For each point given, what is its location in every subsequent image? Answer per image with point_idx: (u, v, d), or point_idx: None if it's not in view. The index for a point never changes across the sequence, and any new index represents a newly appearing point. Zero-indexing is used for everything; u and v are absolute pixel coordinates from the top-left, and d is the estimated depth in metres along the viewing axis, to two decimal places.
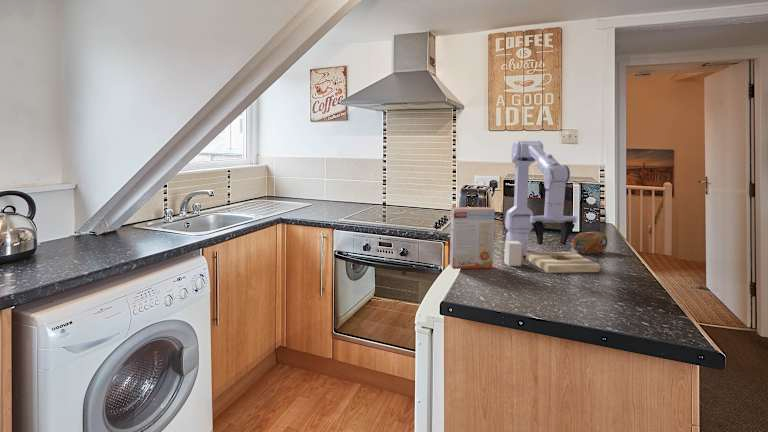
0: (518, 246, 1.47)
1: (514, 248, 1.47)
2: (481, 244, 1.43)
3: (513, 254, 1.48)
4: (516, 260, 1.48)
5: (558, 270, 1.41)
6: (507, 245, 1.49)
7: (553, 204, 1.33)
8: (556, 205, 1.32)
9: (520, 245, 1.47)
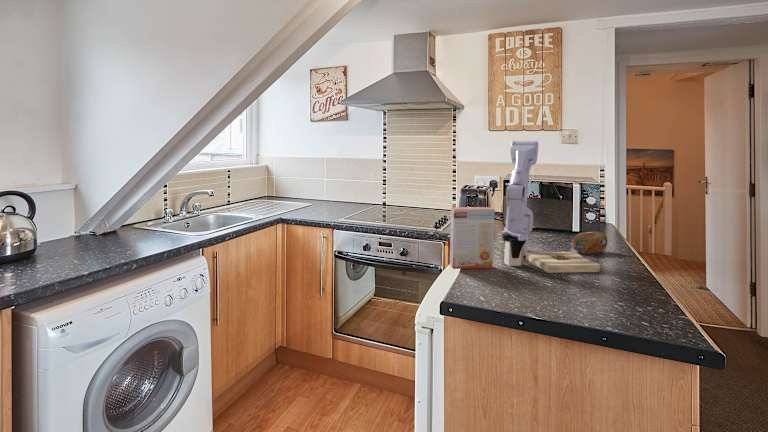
0: None
1: None
2: (481, 244, 1.43)
3: None
4: (516, 260, 1.48)
5: (558, 270, 1.41)
6: (507, 245, 1.49)
7: None
8: (506, 219, 1.48)
9: None
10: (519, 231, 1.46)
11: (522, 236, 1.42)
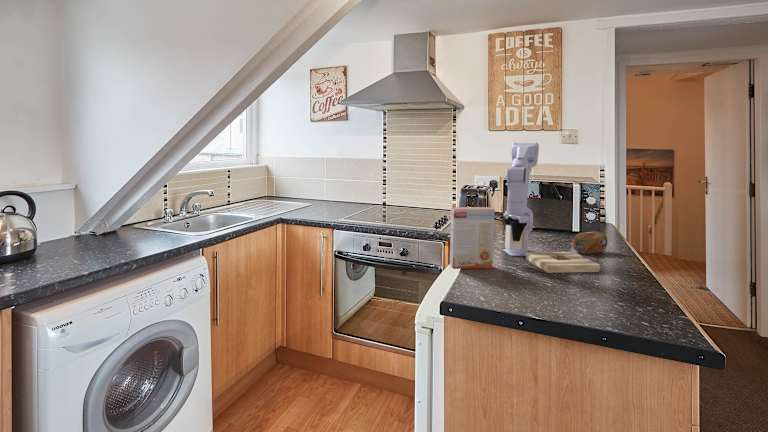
0: None
1: None
2: (481, 244, 1.43)
3: None
4: (517, 243, 1.47)
5: (558, 270, 1.41)
6: (507, 228, 1.49)
7: (507, 201, 1.48)
8: (507, 202, 1.47)
9: None
10: (520, 214, 1.45)
11: (523, 218, 1.41)
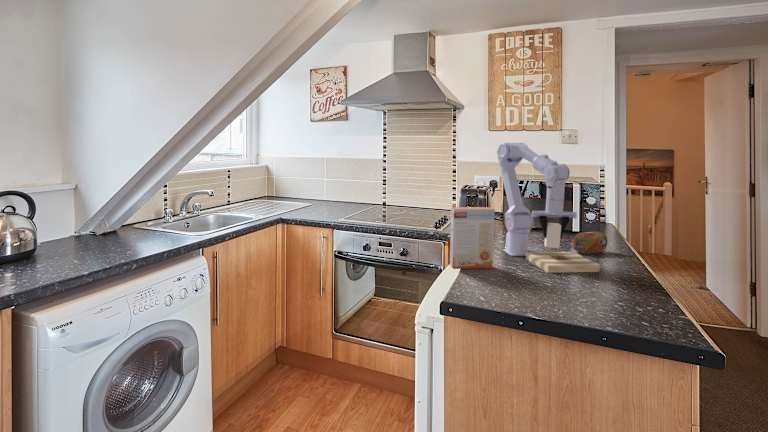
0: None
1: None
2: (481, 244, 1.43)
3: None
4: None
5: (558, 270, 1.41)
6: (553, 228, 1.45)
7: (552, 200, 1.44)
8: (554, 201, 1.44)
9: None
10: None
11: None
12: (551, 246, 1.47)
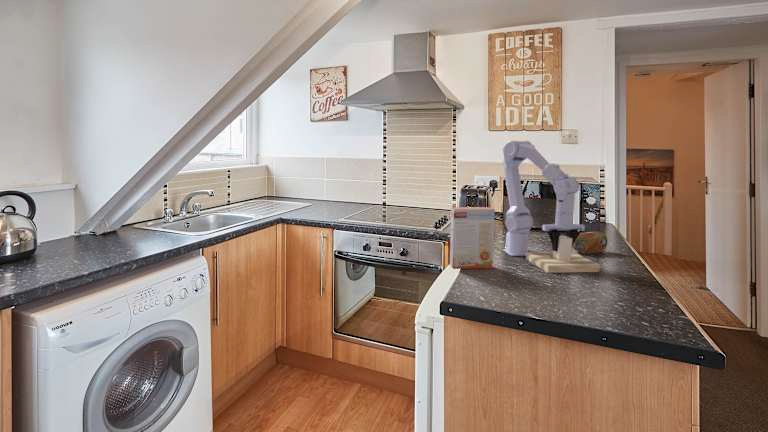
0: None
1: None
2: (481, 244, 1.43)
3: None
4: None
5: (558, 270, 1.41)
6: (565, 241, 1.46)
7: (564, 214, 1.45)
8: (567, 215, 1.44)
9: None
10: None
11: None
12: (563, 259, 1.47)
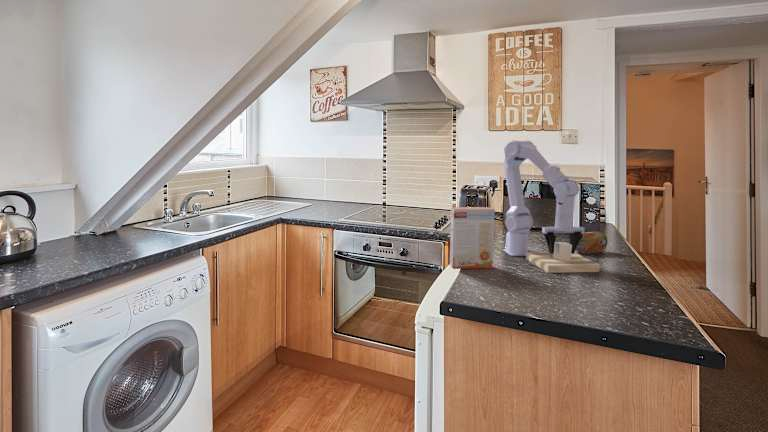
0: None
1: None
2: (481, 244, 1.43)
3: None
4: None
5: (558, 270, 1.41)
6: (565, 247, 1.46)
7: (564, 216, 1.45)
8: (566, 217, 1.44)
9: None
10: None
11: None
12: None
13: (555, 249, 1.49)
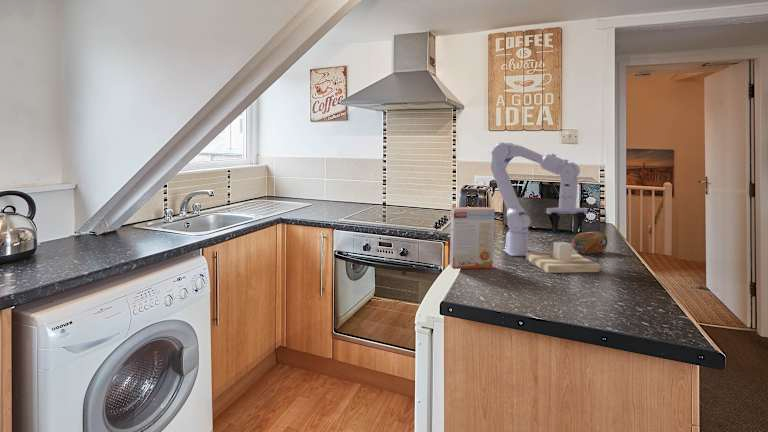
0: None
1: None
2: (481, 244, 1.43)
3: None
4: None
5: (558, 270, 1.41)
6: (565, 247, 1.46)
7: (567, 197, 1.50)
8: (570, 198, 1.50)
9: None
10: None
11: None
12: None
13: (555, 249, 1.49)
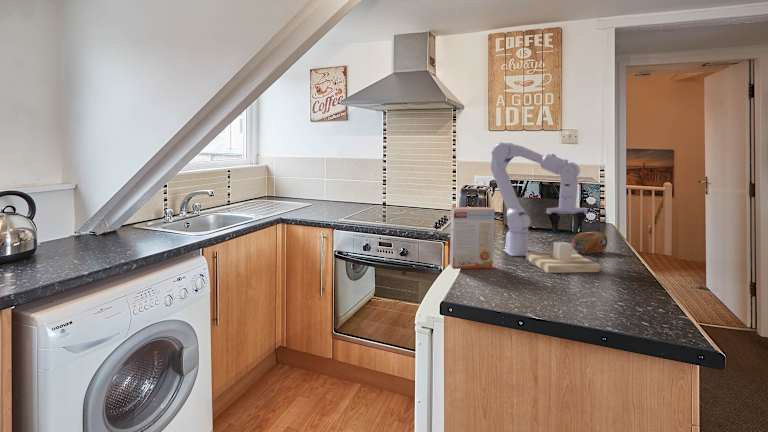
0: None
1: None
2: (481, 244, 1.43)
3: None
4: None
5: (558, 270, 1.41)
6: (565, 247, 1.46)
7: (567, 197, 1.50)
8: (570, 198, 1.50)
9: None
10: None
11: None
12: None
13: (555, 249, 1.49)
